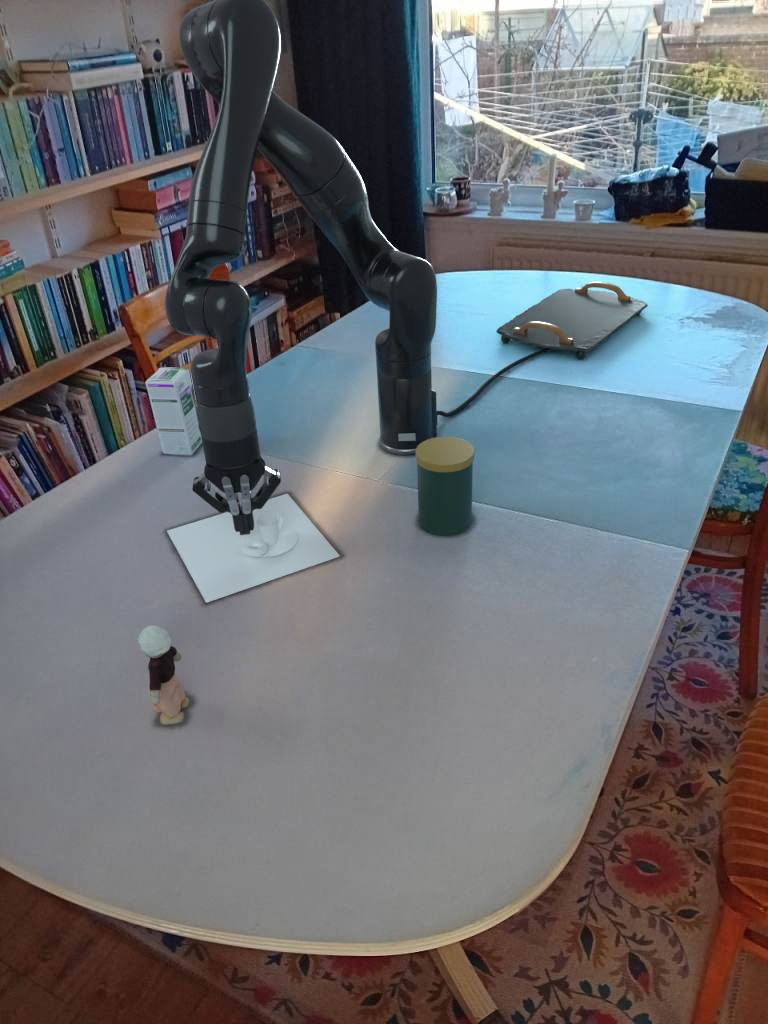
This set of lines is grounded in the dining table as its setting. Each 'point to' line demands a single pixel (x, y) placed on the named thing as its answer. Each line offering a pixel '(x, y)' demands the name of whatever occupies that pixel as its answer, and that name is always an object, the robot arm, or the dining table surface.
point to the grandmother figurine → (163, 675)
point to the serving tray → (573, 319)
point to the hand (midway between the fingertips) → (245, 531)
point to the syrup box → (174, 410)
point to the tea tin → (445, 485)
